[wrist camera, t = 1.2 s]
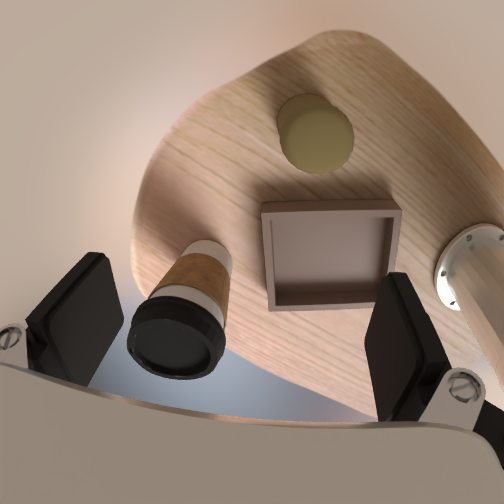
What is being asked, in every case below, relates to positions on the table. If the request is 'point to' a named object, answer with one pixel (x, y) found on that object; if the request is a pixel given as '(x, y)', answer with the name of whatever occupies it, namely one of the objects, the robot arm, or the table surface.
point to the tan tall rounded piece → (314, 134)
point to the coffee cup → (185, 315)
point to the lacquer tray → (328, 252)
